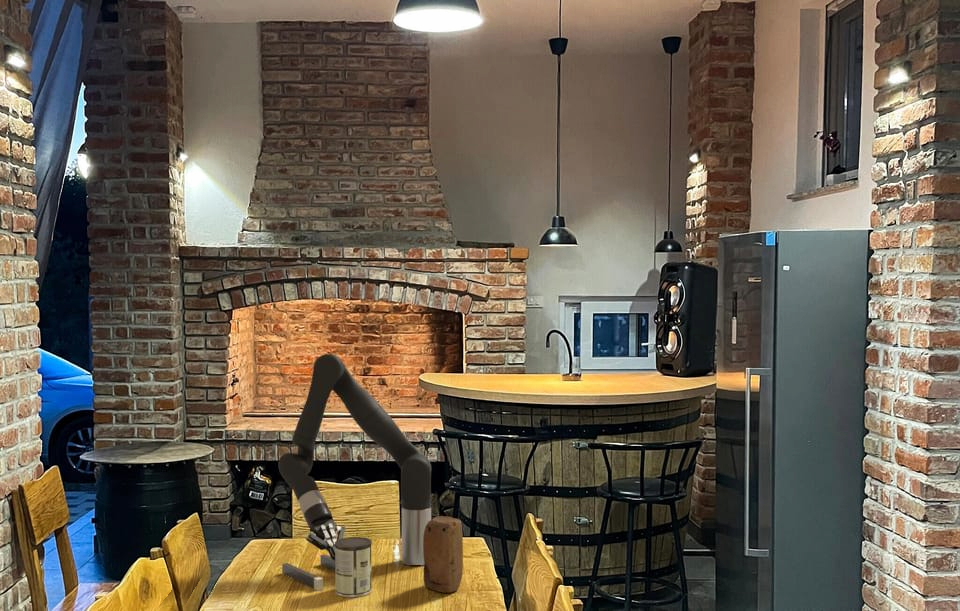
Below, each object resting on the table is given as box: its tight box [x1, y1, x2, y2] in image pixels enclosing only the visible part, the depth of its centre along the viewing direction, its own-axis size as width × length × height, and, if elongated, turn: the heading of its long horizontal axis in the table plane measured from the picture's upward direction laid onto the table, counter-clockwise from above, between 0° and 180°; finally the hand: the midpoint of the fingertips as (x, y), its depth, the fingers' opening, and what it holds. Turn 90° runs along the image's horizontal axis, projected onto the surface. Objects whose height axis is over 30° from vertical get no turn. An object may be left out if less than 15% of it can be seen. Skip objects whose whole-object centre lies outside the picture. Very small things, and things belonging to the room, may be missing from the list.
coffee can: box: [334, 536, 373, 598], centre depth 246 cm, size 10×10×14 cm
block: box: [423, 515, 464, 594], centre depth 248 cm, size 11×8×20 cm
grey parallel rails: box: [281, 554, 335, 592], centre depth 259 cm, size 15×20×3 cm
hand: (337, 559), depth 252 cm, fingers closed
